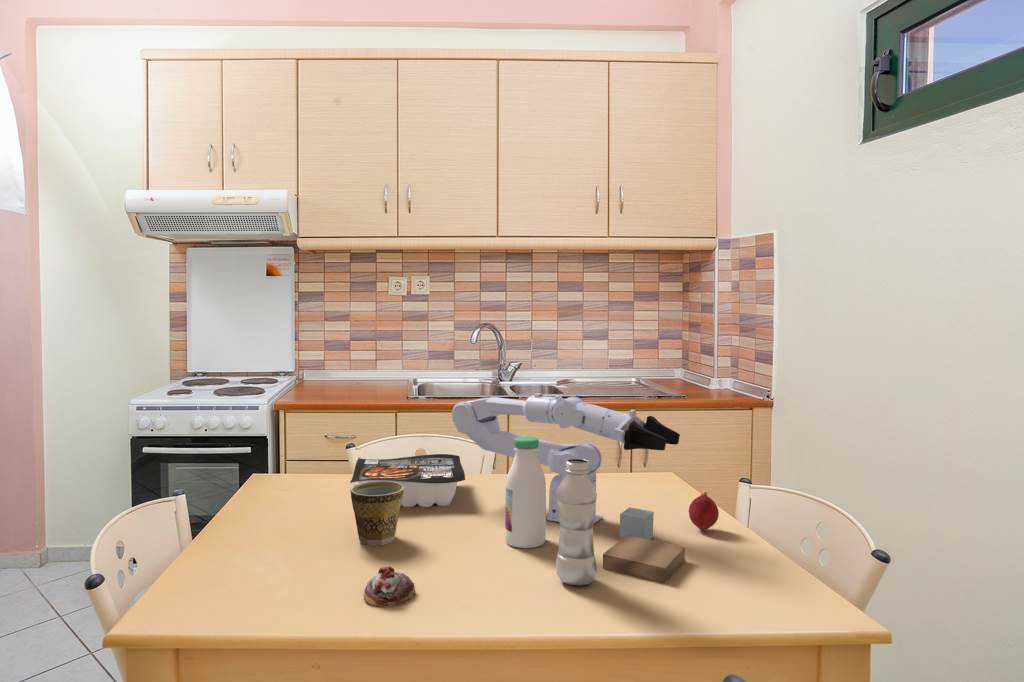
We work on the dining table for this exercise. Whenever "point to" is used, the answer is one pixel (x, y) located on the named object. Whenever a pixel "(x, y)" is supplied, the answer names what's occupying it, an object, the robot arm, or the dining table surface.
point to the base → (644, 558)
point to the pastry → (388, 588)
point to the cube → (636, 523)
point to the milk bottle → (525, 497)
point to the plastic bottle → (576, 525)
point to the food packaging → (415, 477)
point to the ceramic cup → (376, 510)
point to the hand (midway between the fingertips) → (672, 442)
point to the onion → (703, 512)
